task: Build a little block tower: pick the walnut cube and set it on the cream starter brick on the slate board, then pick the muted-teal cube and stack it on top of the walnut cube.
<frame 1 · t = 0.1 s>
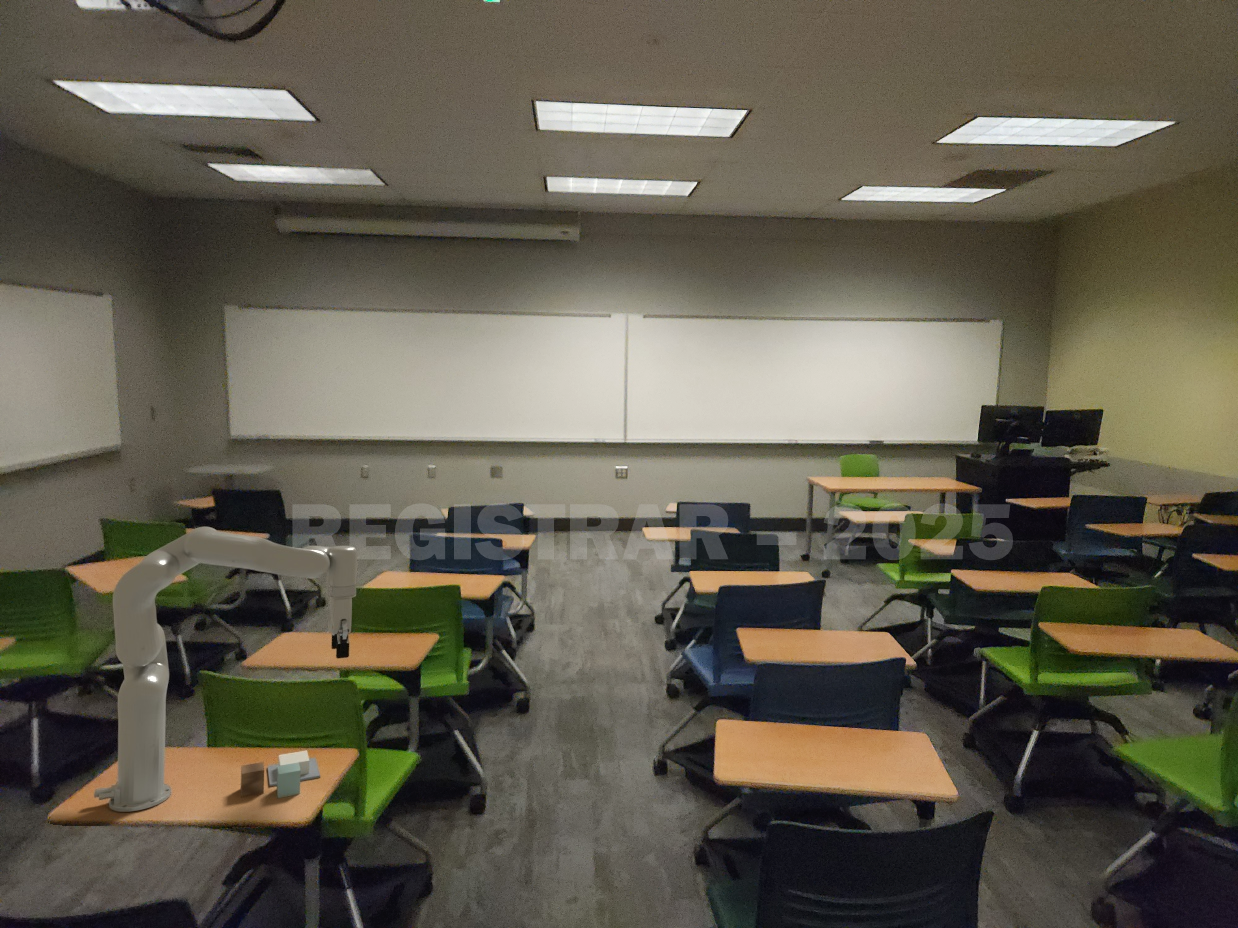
hand: (340, 652, 191), 31 cm above the table, fingers open, 9 cm apart
plinth: (293, 772, 186), on the table
teal block: (288, 791, 176), on the table
walnut block: (252, 791, 175), on the table
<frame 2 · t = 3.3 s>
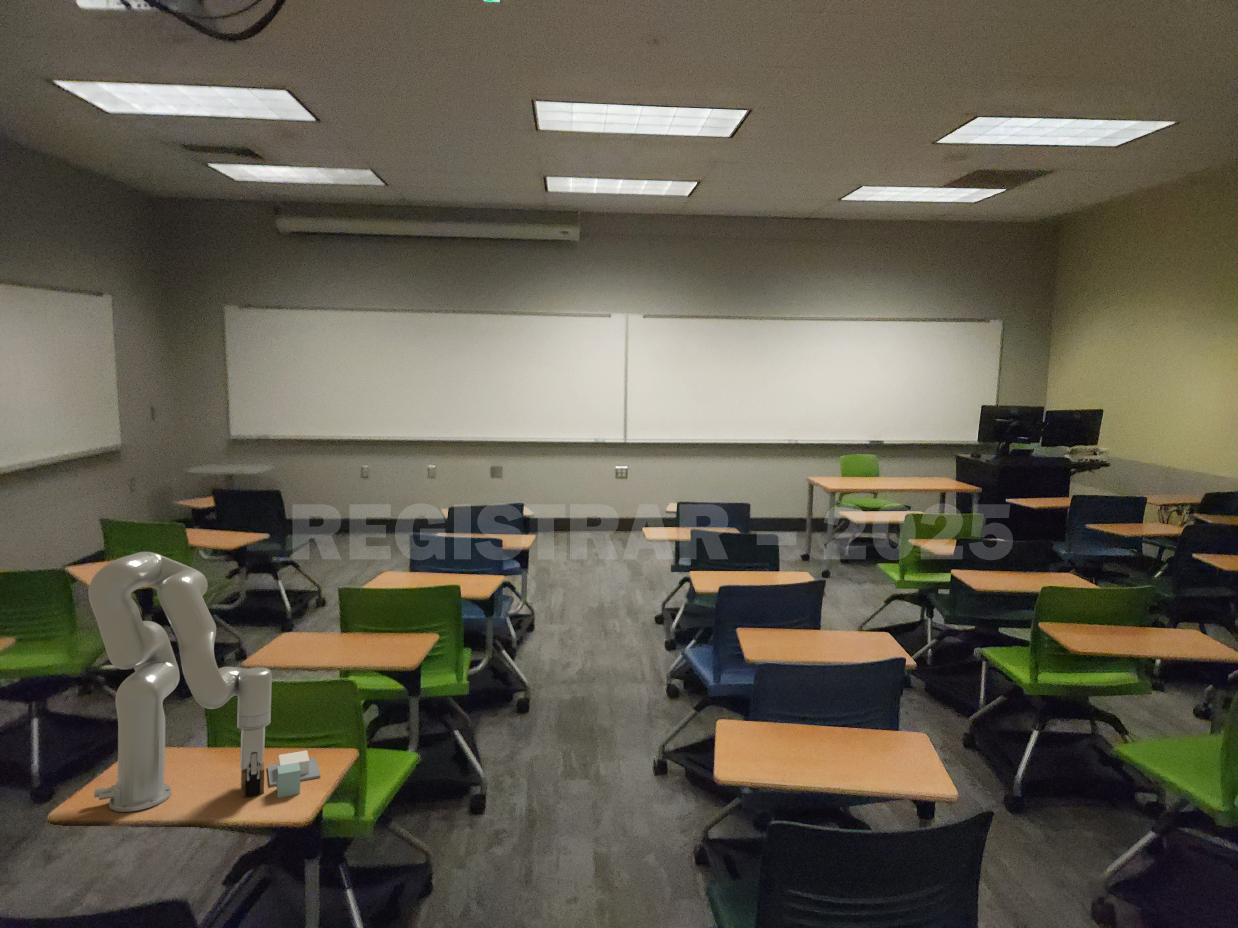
hand: (252, 788, 175), 0 cm above the table, fingers closed on walnut block, 5 cm apart
walnut block: (252, 790, 175), on the table, touching gripper
everything else where it was.
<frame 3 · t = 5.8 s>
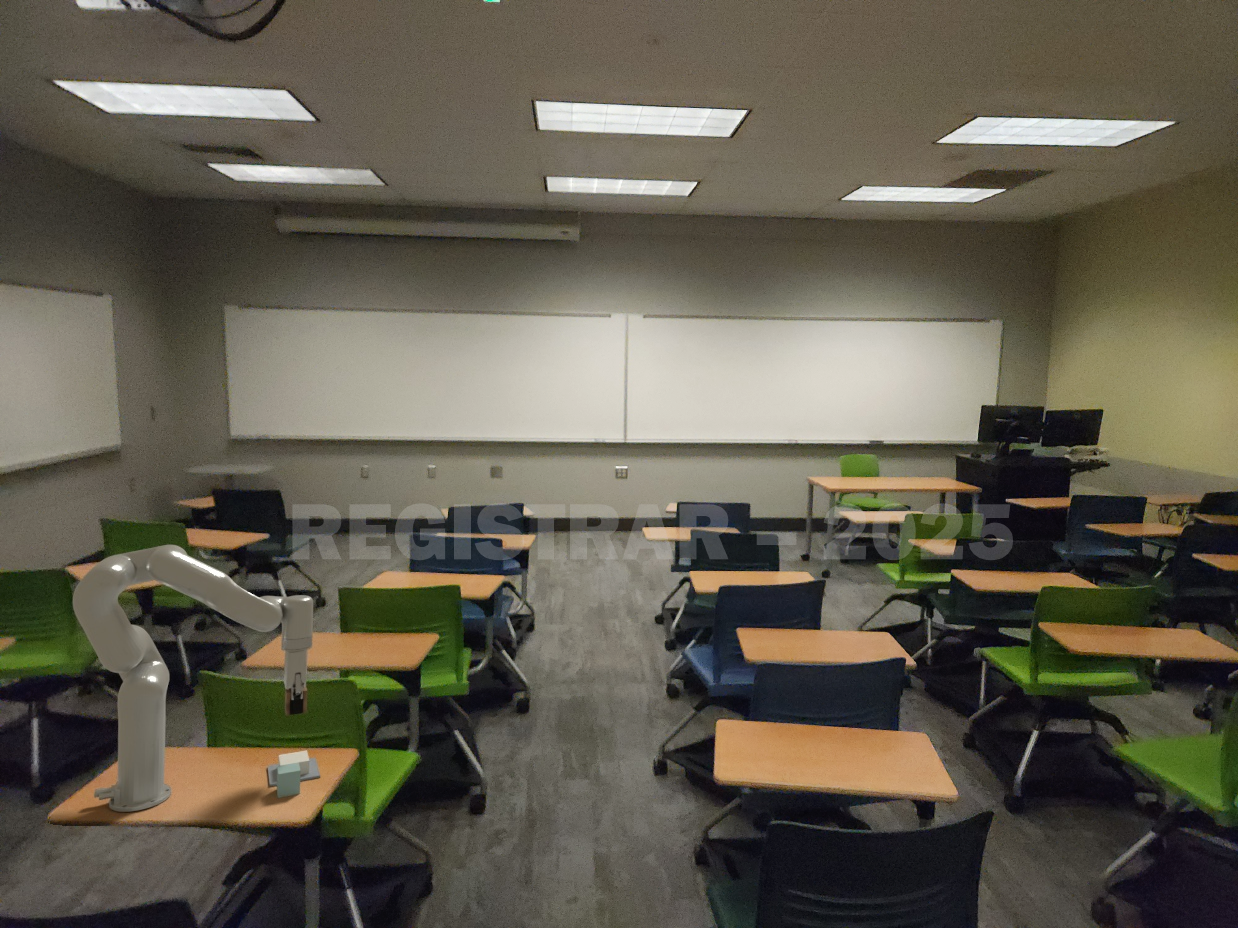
hand: (295, 709, 186), 17 cm above the table, fingers closed on walnut block, 4 cm apart
walnut block: (295, 710, 186), point 17 cm above the table, touching gripper
everything else where it was.
when the fingers open (6 cm above the table, at t = 8.2 s): walnut block drops 1 cm, resting on plinth.
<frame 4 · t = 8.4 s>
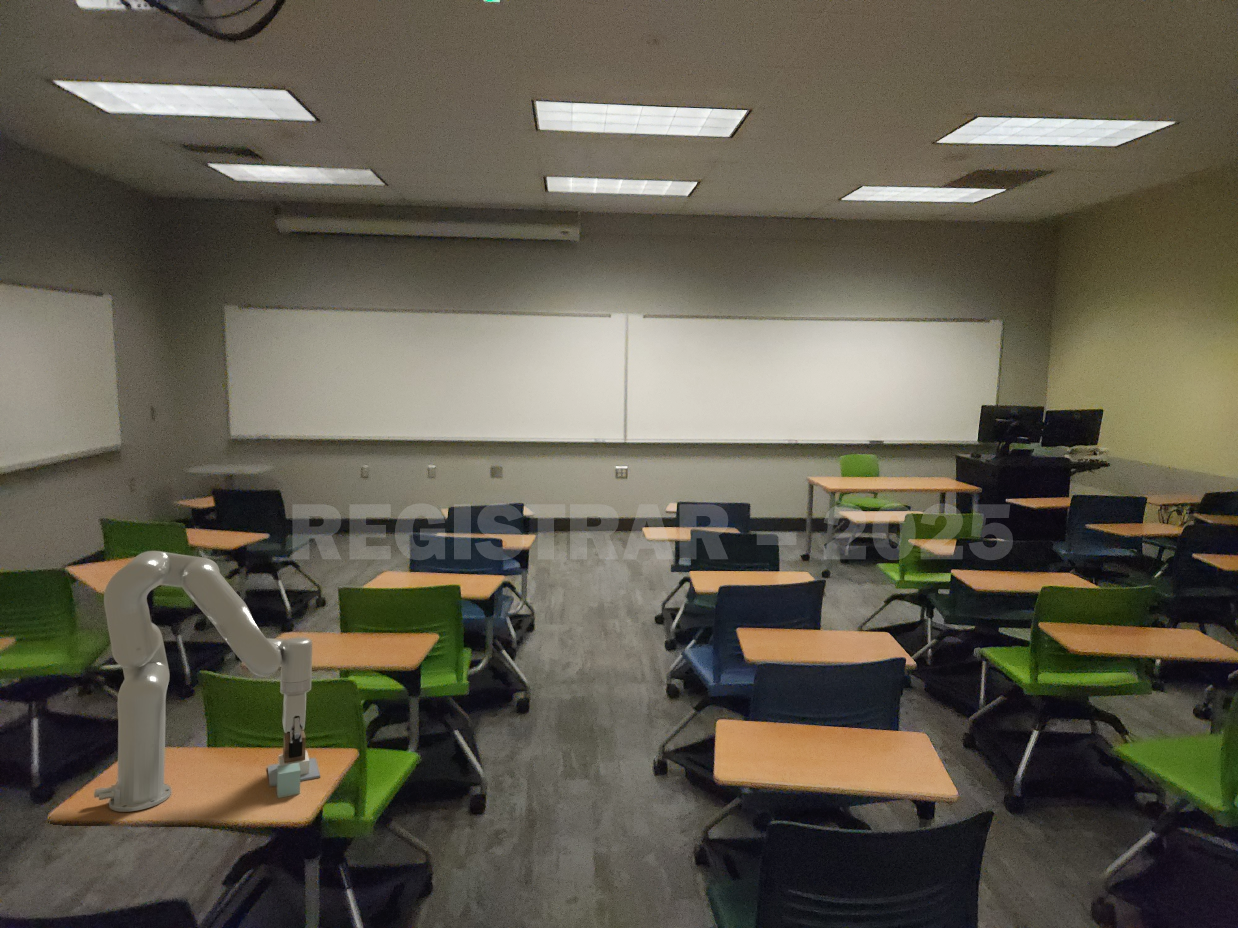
hand: (294, 750, 186), 6 cm above the table, fingers open, 7 cm apart
walnut block: (294, 757, 186), point 4 cm above the table, touching plinth
everything else where it was.
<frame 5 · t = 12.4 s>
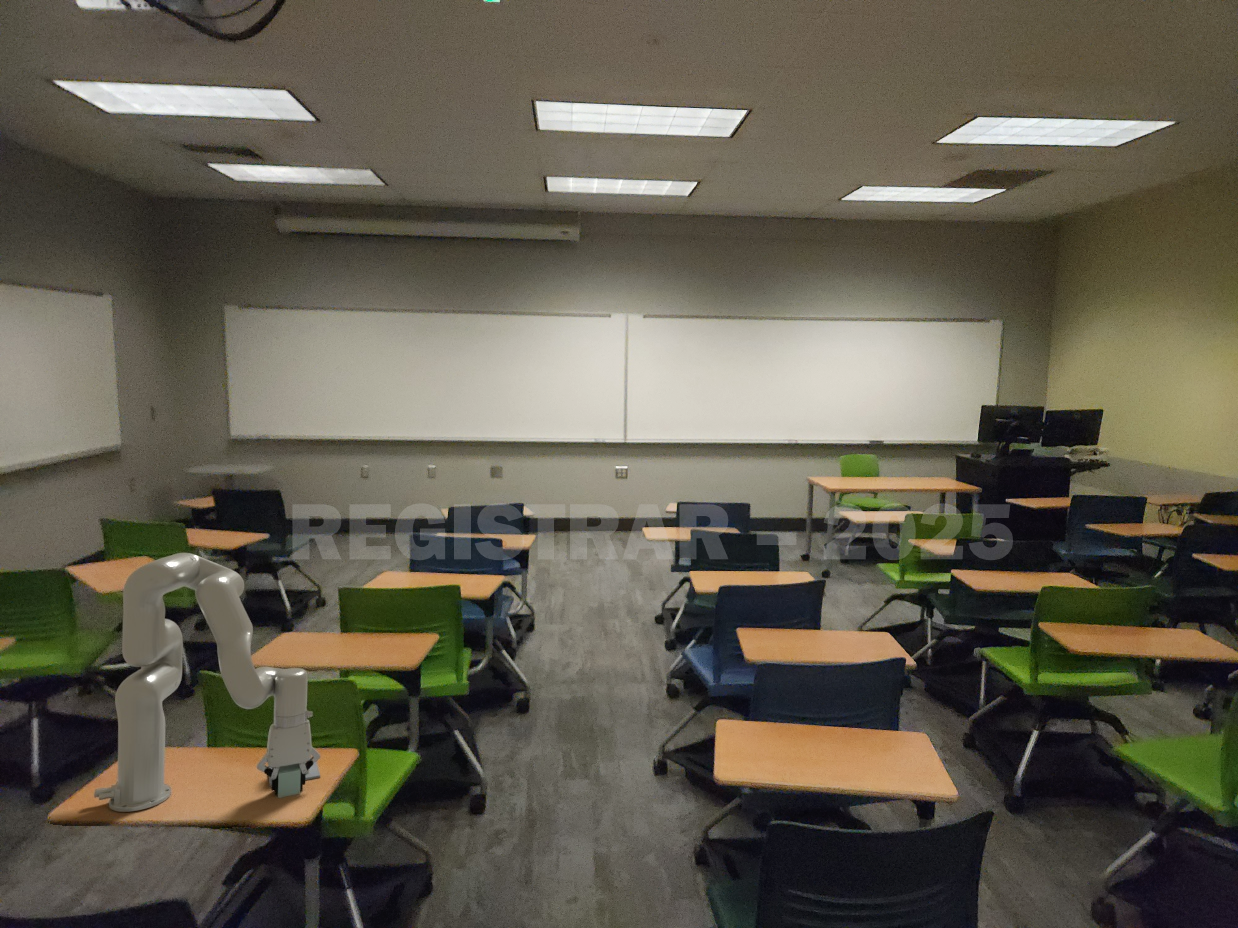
hand: (288, 789, 176), 0 cm above the table, fingers closed on teal block, 5 cm apart
teal block: (288, 791, 176), on the table, touching gripper
everything else where it was.
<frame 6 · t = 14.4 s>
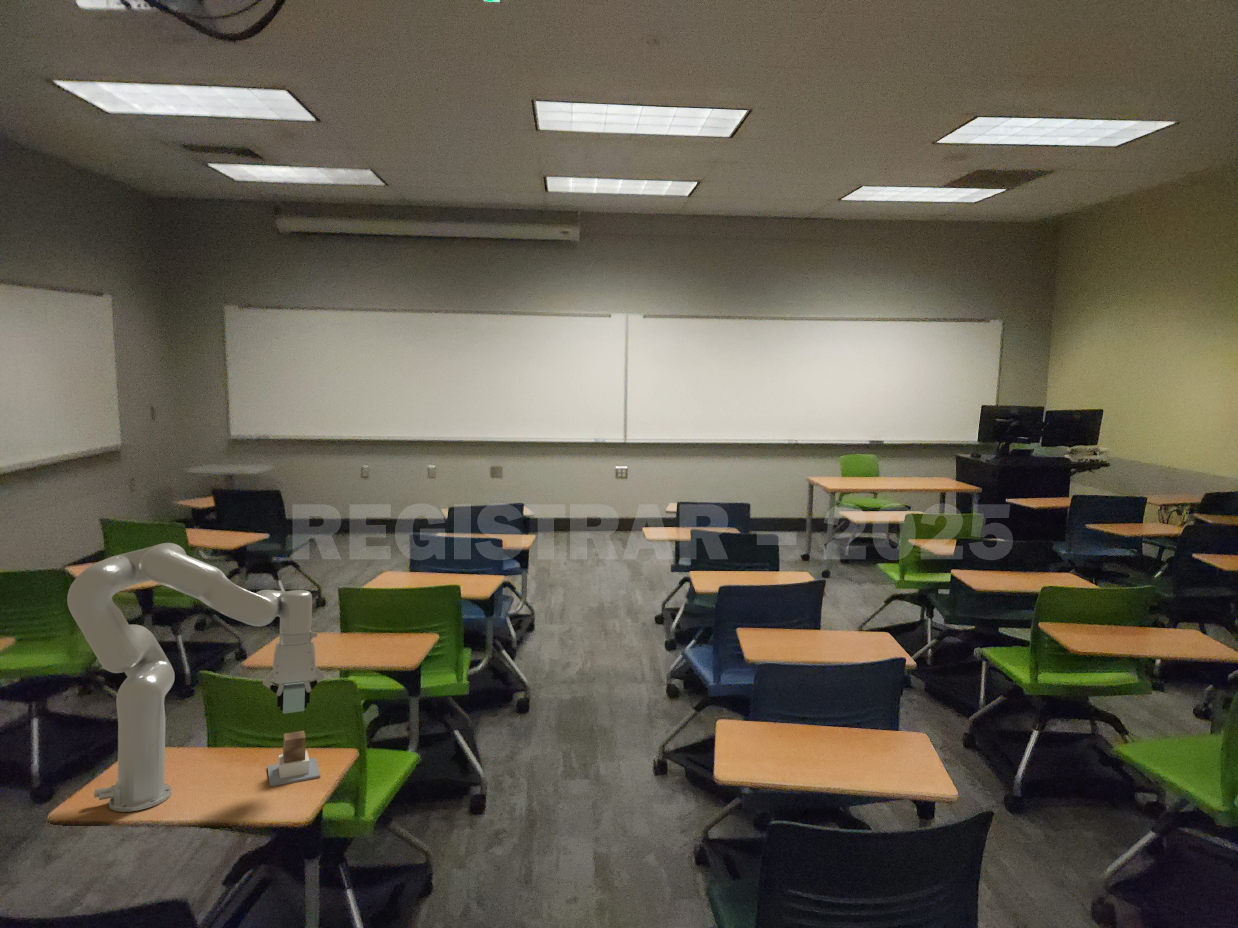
hand: (293, 706, 181), 19 cm above the table, fingers closed on teal block, 4 cm apart
teal block: (293, 708, 181), point 19 cm above the table, touching gripper
everything else where it was.
when the fingers open (12 cm above the table, at t = 16.5 s): teal block drops 1 cm, resting on walnut block.
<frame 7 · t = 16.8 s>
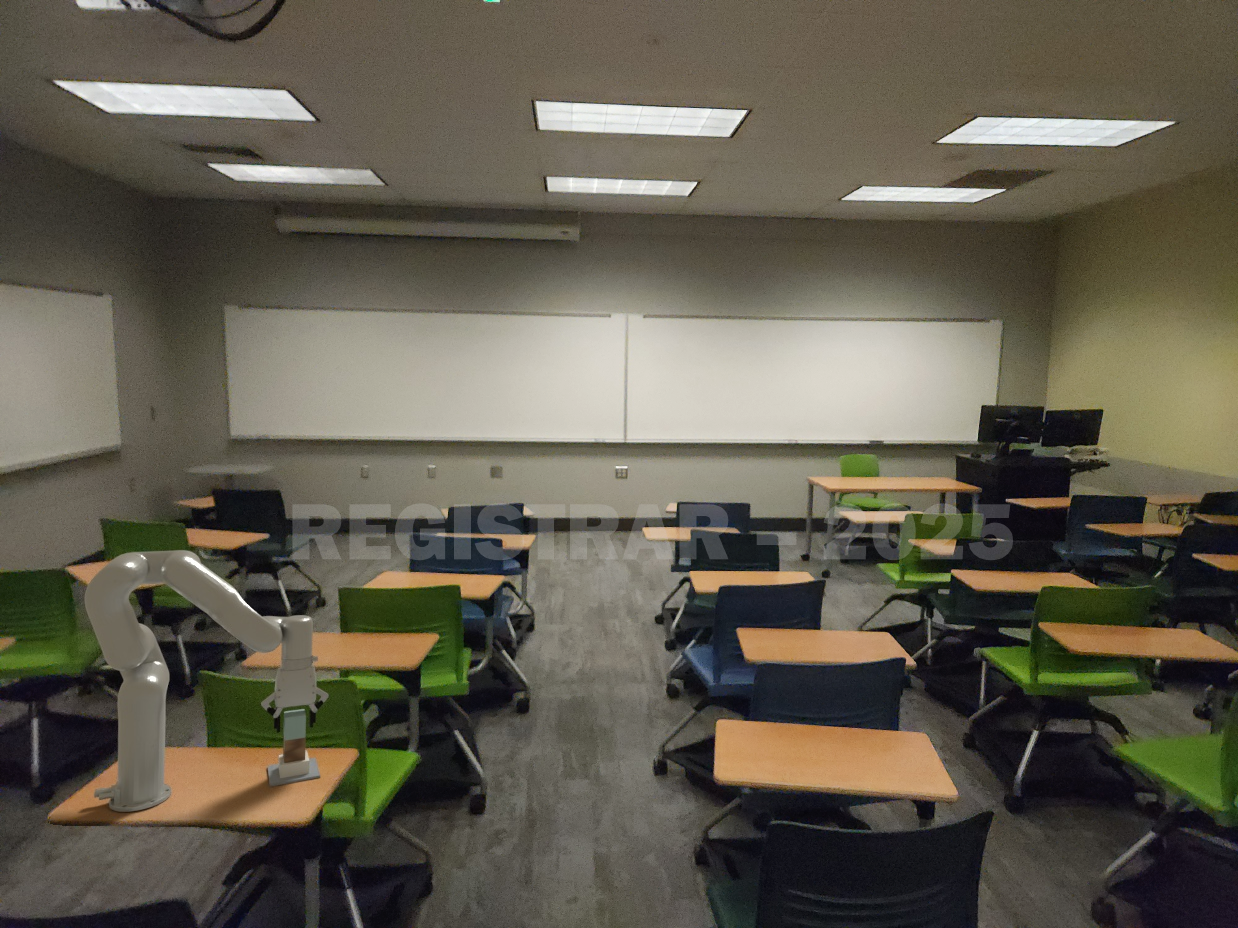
hand: (294, 727, 186), 12 cm above the table, fingers open, 7 cm apart
teal block: (294, 735, 186), point 10 cm above the table, touching walnut block
walnut block: (294, 757, 186), point 4 cm above the table, touching plinth, teal block
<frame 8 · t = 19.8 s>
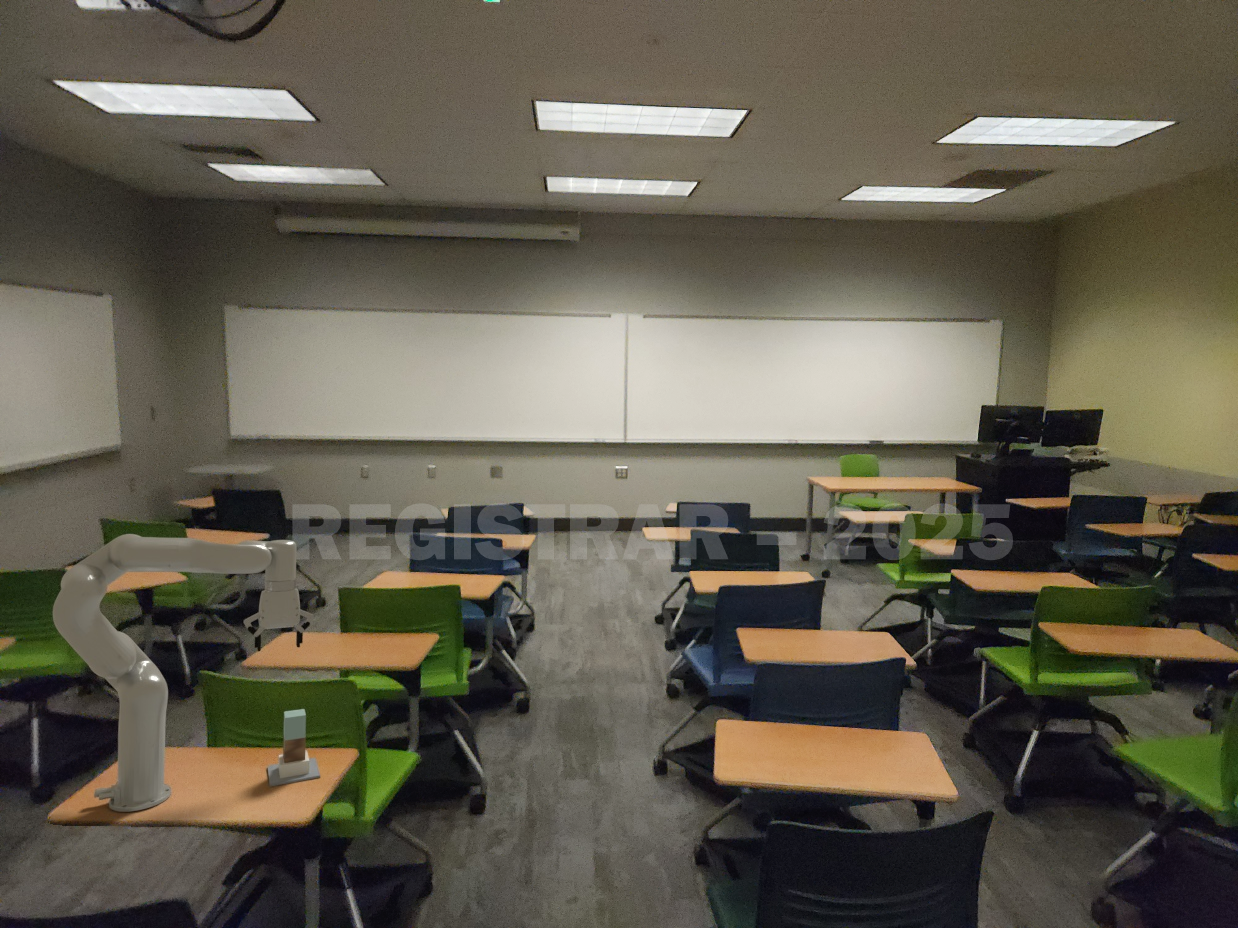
hand: (278, 648, 189), 32 cm above the table, fingers open, 9 cm apart
nothing on the table moved.
at the end: walnut block 0.0 cm off-centre on the plinth, point 4.0 cm above the plinth's base; teal block 0.1 cm off-centre on the plinth, point 10.0 cm above the plinth's base; teal block tilted 0° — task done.
